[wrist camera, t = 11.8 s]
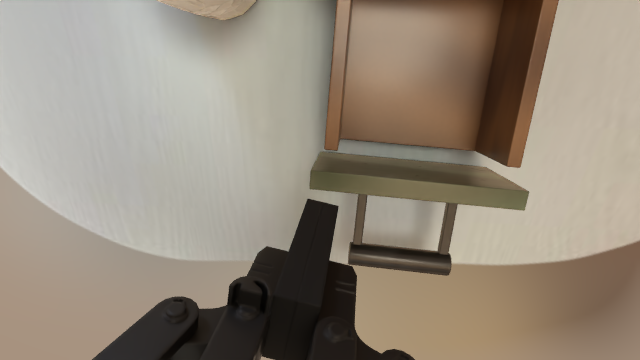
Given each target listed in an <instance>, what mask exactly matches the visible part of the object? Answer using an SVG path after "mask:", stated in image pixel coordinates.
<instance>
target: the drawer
mask: <svg viewBox="0 0 640 360" xmlns="http://www.w3.org/2000/svg"><path fill="white" fill-rule="evenodd" d="M558 1H559V0H337V3H336V15H335V27H334V39H333V51H332V63H331V75H330V87H329V99H328V111H327V123H326V135H325V147H324V149H325V150H335V151H337V150H338V146H339V142H340V139H349V140H360V141H371V142H382V143H393V144H404V145H415V146H426V147H437V148H448V149H459V150H470V151H476V152H478V153H480V154H483V155H485V156H487V157H489V158H491V159H493V160H495V161H497V162H499V163H501V164H503V165H505V166H507V167H518V168H519V167H521V162H522V158H523V153H524V149H525V145H526V140H527V136H528V132H529V127H530V123H531V119H532V114H533V110H534V106H535V101H536V97H537V92H538V88H539V84H540V79H541V75H542V71H543V66H544V62H545V58H546V53H547V49H548V44H549V40H550V36H551V31H552V27H553V23H554V18H555V14H556V10H557V5H558ZM310 189H316V190H326V191H335V192H345V193H355V194H358V201H357V210H356V219H355V228H354V236H353V242H350V245H349V254H348V264H350V265H359V266H367V267H376V268H386V269H394V270H403V271H413V272H420V273H430V274H438V275H449V273H450V270H451V256H450V254H449V253H448V252H449V247H450V242H451V236H452V231H453V226H454V220H455V215H456V210H457V204H465V205H475V206H485V207H494V208H504V209H514V210H525V207H526V203H527V199H528V194H529V191H527V190H525V189H524V188H522V187H520V186H518V185H517V184H515V183H513V182H511V181H510V180H508V179H506V178H504V177H502V176H501V175H499V174H497V173H495V172H494V171H492V170H490V169H488V168H487V167H479V166H469V165H458V164H447V163H437V162H426V161H415V160H405V159H394V158H383V157H372V156H362V155H351V154H340V153H330V152H320V154H319V156H318V158H317V160H316V162H315V164H314V166H313V168H312V170H311V175H310ZM367 195H375V196H385V197H395V198H405V199H415V200H425V201H435V202H445V203H446V206H445V212H444V218H443V223H442V229H441V234H440V240H439V245H438V251H430V250H421V249H412V248H403V247H394V246H385V245H376V244H366V243H362V236H363V228H364V220H365V211H366V203H367Z"/></svg>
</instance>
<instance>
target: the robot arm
mask: <svg viewBox="0 0 640 360" xmlns="http://www.w3.org/2000/svg"><path fill="white" fill-rule="evenodd" d="M337 212H338V206H336V205H332V204H328V203H324V202H320V201H315V200H311V199H307V202H306V205H305V208H304V210H303V213H302V216H301V219H300V221H299V224H298V227H297V230H296V233H295V235H294V238H293V241H292V244H291V246H290V249H289V252H288V251H284V250H280V249H276V248H272V247H268V246H267V247H265V248H264V249H263V250H261V251H260V252H258V254H257V256H256V258H255V260H254V263H253V264H252V267H251V269H250V271H249V272H248V274H247V276H245V277H240V278H238V279H236V280H234V281H233V282H232V283H231V284H230V286H229V294H228V303H227V305H226V306H223V307H220V308H213V309H199V308H198V306H197V303H196V302H194V301H193V300H192V299H189V298H186V297H172V298H169V299H165V300H164V301H162V302H160V303H158V304H157V305H156V306H155V307H154V308H153V309H151V310H150V311H149V312H148V313H146V314H145V315H144V316H143V317H142V318H141V319H139V320H138V321H137V322H136V323H135V324H133V325H132V326H131V327H130V328H129V329H128V330H127V331H125V332H124V333H123V334H122V335H121V336H119V337H118V338H117V339H116V340H115V341H113V342H112V343H111V344H110V345H109V346H108V347H106V348H105V349H104V350H103V351H102V352H101V353H99V354H98V355H97V356H96V357H95V358H93V359H92V360H260V359H261V355H262V356H263V357H266V358H270V359H275V360H415V359H414V358H413V357H411V356H410V355H409V354H407V353H405V352H403V351H400V350H396V349H392V350H386V351H385V352H384V353H382V354H381V353H379V352H377V351H375V350H373V349H372V348H370V347H369V346H367V345H366V344H365V343H364V342H363V341H362V340H361V339H360V338H359V337H358V335H357V333H356V330H355V325H354V323H355V302H356V282H357V275H356V273H355V271H354V269H353V267H352V266H349V265H345V264H341V263H337V262H332V261H329V259H330V253H331V247H332V241H333V235H334V229H335V224H336V218H337Z"/></svg>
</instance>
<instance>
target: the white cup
mask: <svg viewBox="0 0 640 360" xmlns="http://www.w3.org/2000/svg"><path fill="white" fill-rule="evenodd" d="M156 1H159V2H162V3H164V4H167V5H170V6H172V7H175V8H178V9H181V10H184V11H188V12H191V13H194V14H197V15H202V16H205V17H210V18H215V19H219V20H227V19H230V18H234V17H237V16H240V15H243V14H244V13H245V12H246V11H247V10H248V9H249V8H250V7H251V6H252V5H253V4H254V3H255V2H256V1H257V0H156Z"/></svg>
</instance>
